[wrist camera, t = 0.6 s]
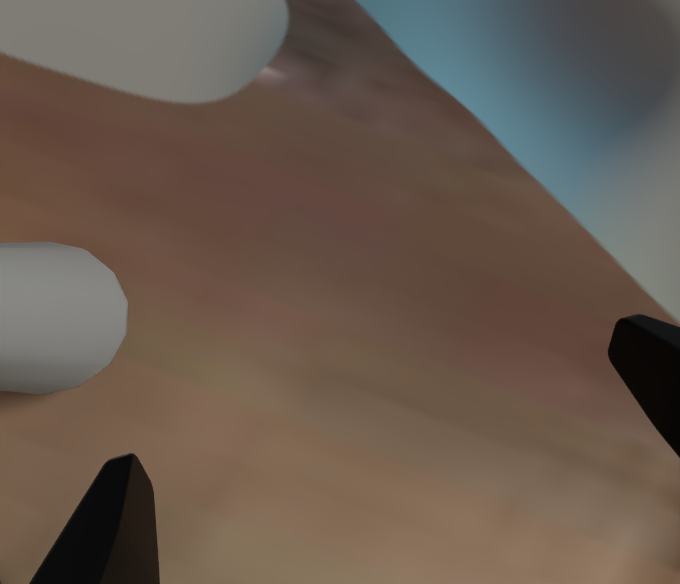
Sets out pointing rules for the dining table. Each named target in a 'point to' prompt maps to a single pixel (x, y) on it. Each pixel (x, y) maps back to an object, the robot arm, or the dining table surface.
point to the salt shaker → (56, 317)
